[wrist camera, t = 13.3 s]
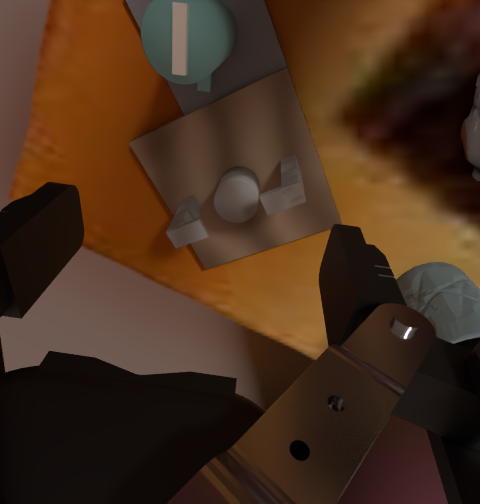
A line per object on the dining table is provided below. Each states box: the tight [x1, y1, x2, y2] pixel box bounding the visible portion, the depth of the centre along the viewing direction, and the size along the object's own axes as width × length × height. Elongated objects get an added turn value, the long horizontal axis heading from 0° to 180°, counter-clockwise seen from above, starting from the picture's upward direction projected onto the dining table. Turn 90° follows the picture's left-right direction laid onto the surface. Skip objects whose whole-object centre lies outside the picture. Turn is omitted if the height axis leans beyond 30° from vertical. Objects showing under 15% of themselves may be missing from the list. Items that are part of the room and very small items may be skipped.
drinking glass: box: [397, 262, 480, 351], centre depth 38 cm, size 10×10×12 cm
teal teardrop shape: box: [141, 0, 237, 92], centre depth 25 cm, size 9×5×11 cm, turn 174°
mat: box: [126, 0, 287, 116], centre depth 30 cm, size 10×10×1 cm
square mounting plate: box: [129, 67, 342, 269], centre depth 34 cm, size 16×16×8 cm
